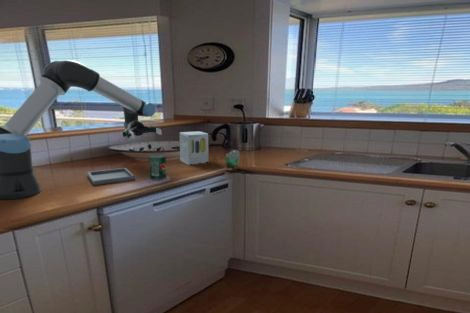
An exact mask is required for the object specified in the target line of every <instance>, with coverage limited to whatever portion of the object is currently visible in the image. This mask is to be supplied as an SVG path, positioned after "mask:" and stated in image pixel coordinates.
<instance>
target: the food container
mask: <svg viewBox="0 0 470 313" xmlns="http://www.w3.org/2000/svg"><path fill="white" fill-rule="evenodd" d="M240 156H241V153H240V151H239V150H237V149H230V151H228V153H227V152H226V153H225V159H226V160H225V162H226V163H225V164H226V168H225V170H226V172H236V171H238V169H239V167H238V166H239V157H240Z"/></svg>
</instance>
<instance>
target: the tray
mask: <svg viewBox="0 0 470 313" xmlns="http://www.w3.org/2000/svg"><path fill="white" fill-rule="evenodd" d="M86 174H87V177H88V179H89V180H90V182H91V183H92V185H93V186H99V185H107V184H115V183H121V182H128V181H129V182H130V181H136V175H135V174H133V173H132V172H131V171H130V170H128V168H126V167H118V168H113V169H111V168H109V169H104V170H103V169H101V170H93V171H87V173H86Z"/></svg>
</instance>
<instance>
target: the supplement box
mask: <svg viewBox="0 0 470 313" xmlns="http://www.w3.org/2000/svg"><path fill="white" fill-rule="evenodd" d="M179 161H180V162H182V163H184V164H186V165H191V164H192V165H199V163H201V164H207V163H206V162H208V163H209V133H207V132H204V131H199V130H198V131H181V132H179Z"/></svg>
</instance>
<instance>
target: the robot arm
mask: <svg viewBox="0 0 470 313" xmlns="http://www.w3.org/2000/svg"><path fill="white" fill-rule="evenodd" d="M39 80H40V83H39V85H37V87H36V88H35V89H34V90H33V92H32V93H31V94H30V95H29V96H28V97H27V99H26V100H24V102H23V103H22V104H21V105H20V107H19V108H18V109H17V110H16V111H15V113H14V114H13V115H12V116H11V117H10V118H9V120H7V122H5V124H3V125H0V200H16V199H22V198H29V197H32V196H34V195H36V194H39V193H40V192H41V185H40V184H41V183H40V182H38V179H37V178H36V175H35V173H34V166H33V156H32V150H31V146H32V145H31V142H30V138H29V137H28V135H29V133H30V132H31V131H32V130H33V128H34V127H35V126H36V124H37V123H38V122H39V121H40V119H41V118H43V116H44V115H45V114H46V112H48V109H49V108H50V107H51V106H52V105H53V103H54V102H55V101H56V100H57V98H58V97H59V96H65V94H66V93H67V92H68V91H69V89H70V88H80V89H83V90H85V91H87V92H94V93H95V94H97V95H98V94H99V96H102V97H104V98H106V99H107V100H110V101H111V102H114V103H116V104H117V105H120V106H122V108H123V116H124V123H123V127H124V129H125V130H123V131H122V136H123V138H127V139H129V138H131V139H133V140H134V139H135V136H136V137H139V136H142V135H144V134H148V133H156V134H157V135H159V136H162V135H163V127H162V126H159V125H158V126H155V125H154V126H153V125H148V126H147V125H145V124H143V122H140V121H139V117H143V118H151V117H153V116H154V115H155V113H156V106H155V105H154V104H153V103H152V102H148V101H147V102H146V101H144V100H142V99H140V98H138V97H137V96H135V95H133V94H132V93H129V92H128V91H126V90H125V89H122V88H121V87H119V86H118V85H115V84H114V83H112V82H110V81H108V80H107V79H105V78H103V77H101V75H100V73H99V72H97V71H95V70H94V69H93V68H90V67H88V66H87V65H85V64H83V63H82V62H79V61H76V60H71V59H68V60H55V61H51V62H49V63H48V64H47V65H46V66H44V69H43V73H42V75H41V76H40V77H39Z"/></svg>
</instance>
